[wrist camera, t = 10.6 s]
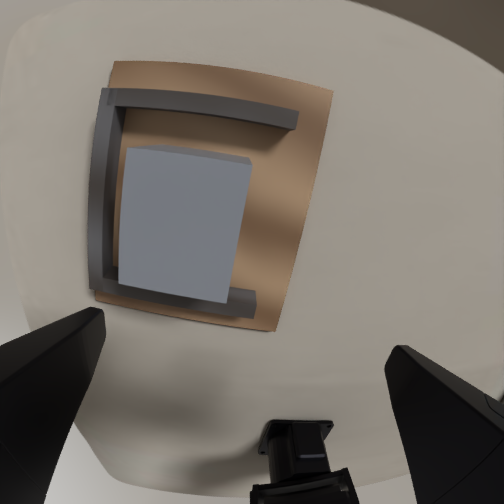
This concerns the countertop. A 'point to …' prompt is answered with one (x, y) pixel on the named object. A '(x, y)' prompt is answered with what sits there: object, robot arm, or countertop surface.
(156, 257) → the block
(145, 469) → the countertop surface
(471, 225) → the countertop surface
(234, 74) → the dock
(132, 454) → the countertop surface
